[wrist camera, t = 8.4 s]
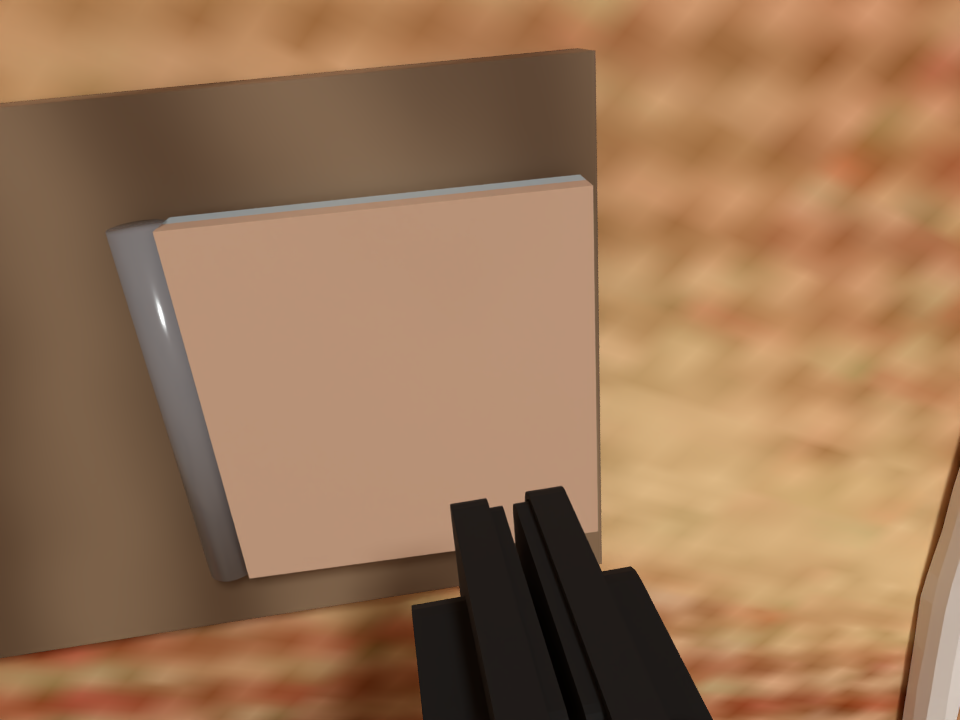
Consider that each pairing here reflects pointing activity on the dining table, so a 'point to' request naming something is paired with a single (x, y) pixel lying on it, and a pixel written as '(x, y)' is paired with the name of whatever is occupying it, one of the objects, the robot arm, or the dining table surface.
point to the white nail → (938, 629)
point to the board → (111, 333)
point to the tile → (369, 366)
